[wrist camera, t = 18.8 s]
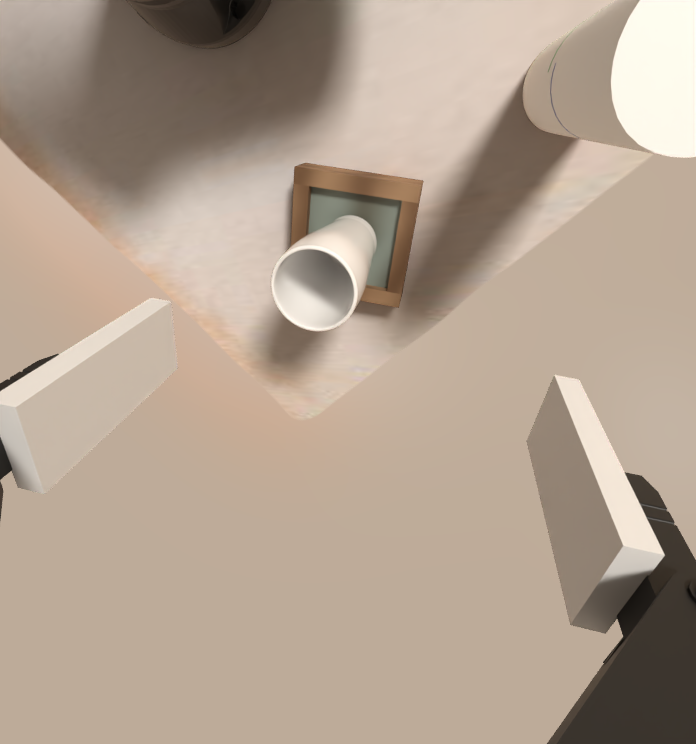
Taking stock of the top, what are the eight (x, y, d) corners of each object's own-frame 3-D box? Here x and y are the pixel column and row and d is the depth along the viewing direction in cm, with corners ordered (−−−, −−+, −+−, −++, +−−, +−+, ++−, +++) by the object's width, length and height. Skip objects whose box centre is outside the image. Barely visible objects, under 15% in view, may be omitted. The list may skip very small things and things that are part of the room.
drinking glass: (306, 234, 46) (250, 281, 33) (356, 191, 43) (316, 223, 30) (347, 286, 48) (310, 348, 35) (398, 247, 45) (377, 301, 32)
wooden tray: (298, 276, 51) (288, 287, 48) (305, 162, 45) (294, 166, 42) (401, 295, 50) (398, 307, 47) (423, 180, 44) (421, 186, 41)
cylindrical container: (517, 136, 40) (593, 161, 19) (528, 38, 37) (636, -62, 16) (603, 131, 39) (788, 153, 18) (623, 29, 36) (882, -95, 14)
